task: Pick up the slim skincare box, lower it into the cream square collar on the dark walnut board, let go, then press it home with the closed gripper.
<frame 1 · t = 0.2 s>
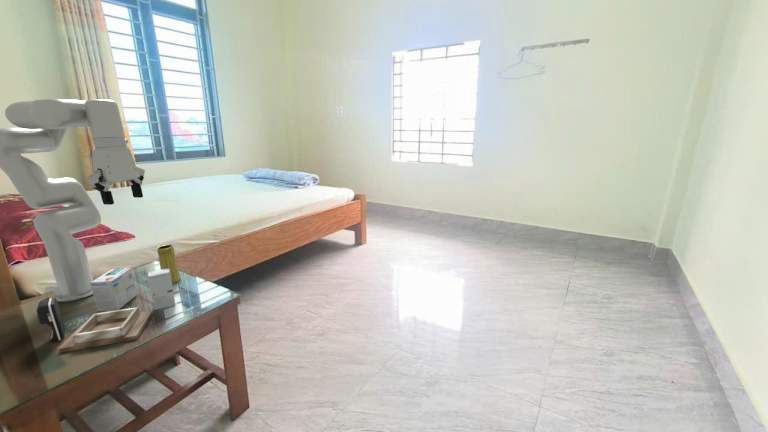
hand: (124, 200, 103), 36 cm above the table, tool pointing down, fingers open, 9 cm apart
holder: (110, 331, 99), on the table
vase: (172, 281, 130), on the table
skincare box: (165, 305, 113), on the table
black hard case: (56, 337, 96), on the table
light bulb box: (118, 303, 115), on the table
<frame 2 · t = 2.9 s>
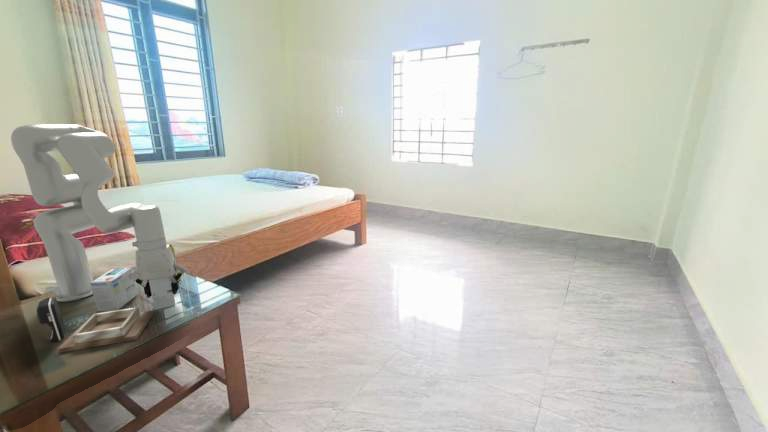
hand: (162, 293, 112), 4 cm above the table, tool pointing down, fingers closed on skincare box, 6 cm apart
skincare box: (165, 305, 113), on the table, touching gripper
everything else where it was.
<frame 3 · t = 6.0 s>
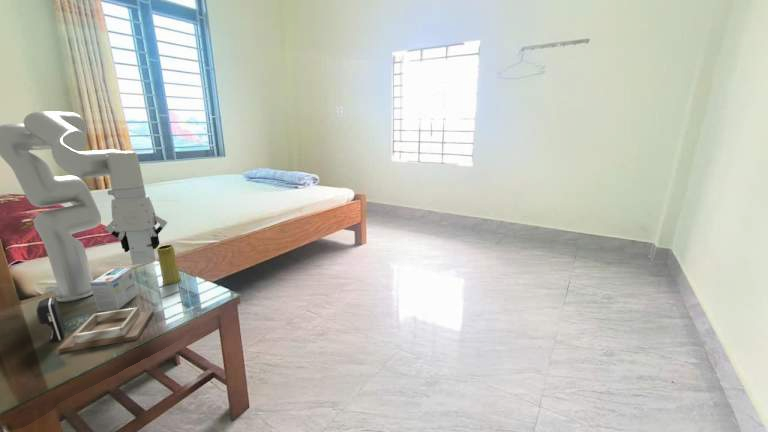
hand: (141, 248, 104), 21 cm above the table, tool pointing down, fingers closed on skincare box, 6 cm apart
skincare box: (145, 261, 106), point 17 cm above the table, touching gripper
everything else where it was.
when the fingers open (6 cm above the table, at t = 9.3 s): skincare box stays where it is, resting on holder.
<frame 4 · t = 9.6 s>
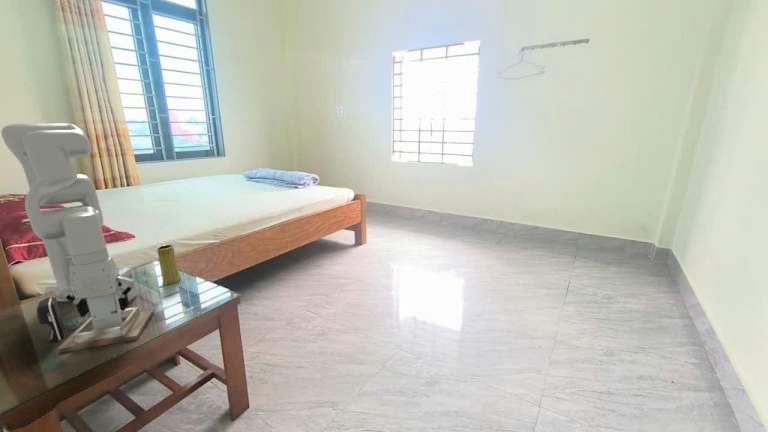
hand: (105, 311, 97), 7 cm above the table, tool pointing down, fingers open, 9 cm apart
skincare box: (110, 328, 98), point 1 cm above the table, touching holder
everything else where it was.
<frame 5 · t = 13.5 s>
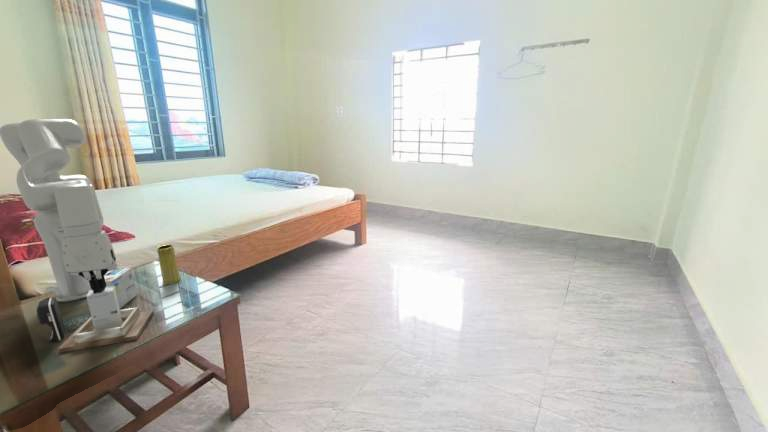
hand: (99, 290, 95), 13 cm above the table, tool pointing down, fingers closed
skincare box: (110, 328, 98), point 1 cm above the table, touching gripper, holder
everything else where it was.
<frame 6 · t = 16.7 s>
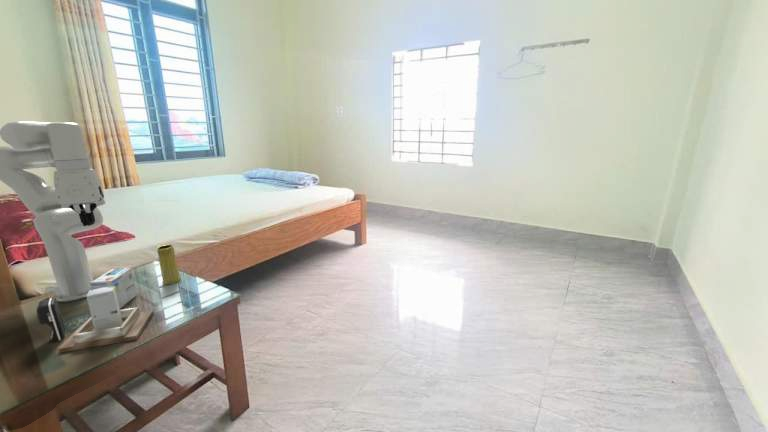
hand: (89, 224, 104), 29 cm above the table, tool pointing down, fingers closed
skincare box: (110, 328, 98), point 1 cm above the table, touching holder
everything else where it was.
at the end: skincare box 0.1 cm from the holder (horizontally); skincare box point 1.0 cm above the table; skincare box tilted 0° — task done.
